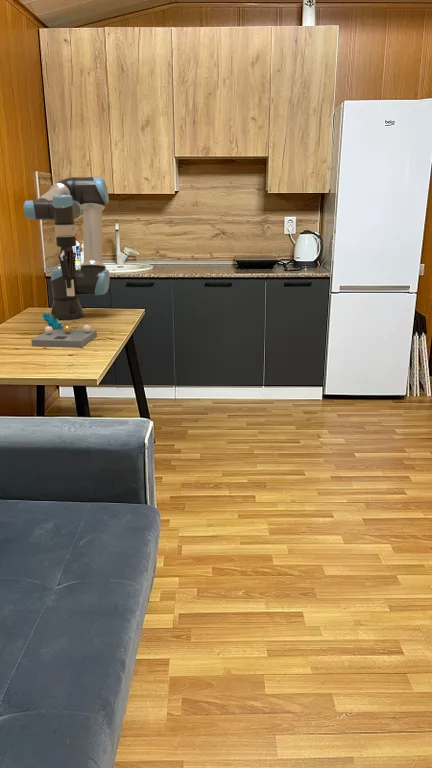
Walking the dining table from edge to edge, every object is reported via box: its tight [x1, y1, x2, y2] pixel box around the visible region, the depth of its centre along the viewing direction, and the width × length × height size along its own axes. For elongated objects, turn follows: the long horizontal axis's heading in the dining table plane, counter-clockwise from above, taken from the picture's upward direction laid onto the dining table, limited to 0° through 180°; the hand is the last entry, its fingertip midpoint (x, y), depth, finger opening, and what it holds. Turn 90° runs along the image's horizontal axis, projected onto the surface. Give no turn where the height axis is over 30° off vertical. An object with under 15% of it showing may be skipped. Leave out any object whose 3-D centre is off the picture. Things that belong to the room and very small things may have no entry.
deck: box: [30, 328, 98, 348], centre depth 224 cm, size 18×20×2 cm
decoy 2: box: [82, 324, 92, 333], centre depth 227 cm, size 3×3×3 cm
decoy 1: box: [44, 325, 54, 334], centre depth 225 cm, size 3×3×3 cm
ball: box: [62, 324, 73, 333], centre depth 226 cm, size 3×3×3 cm
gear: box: [42, 312, 64, 330], centre depth 242 cm, size 11×6×10 cm
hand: (70, 295), depth 228 cm, fingers closed
